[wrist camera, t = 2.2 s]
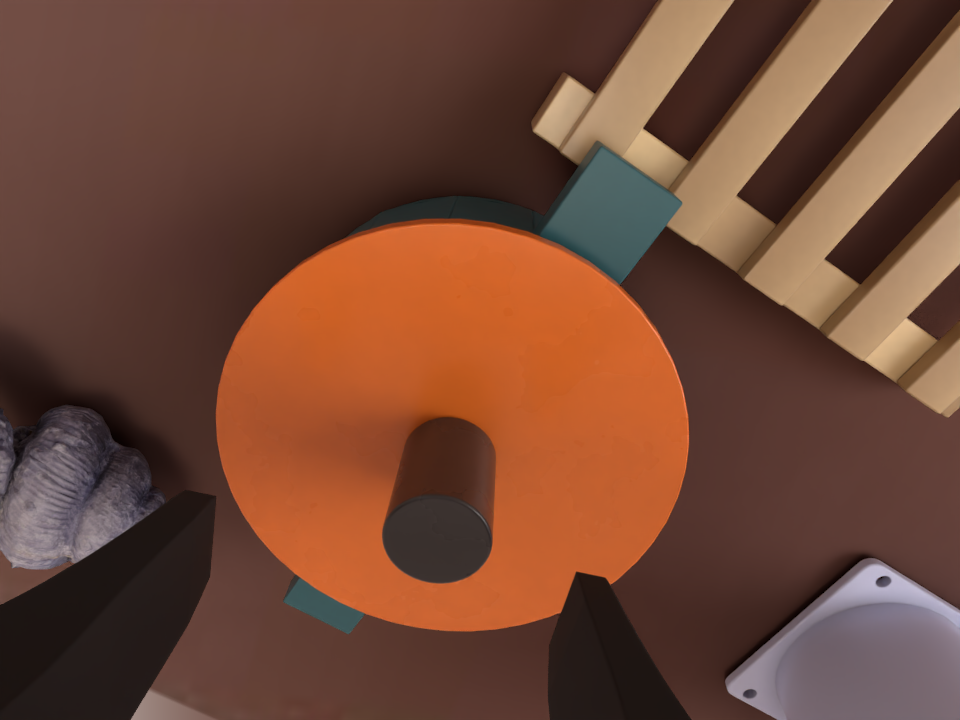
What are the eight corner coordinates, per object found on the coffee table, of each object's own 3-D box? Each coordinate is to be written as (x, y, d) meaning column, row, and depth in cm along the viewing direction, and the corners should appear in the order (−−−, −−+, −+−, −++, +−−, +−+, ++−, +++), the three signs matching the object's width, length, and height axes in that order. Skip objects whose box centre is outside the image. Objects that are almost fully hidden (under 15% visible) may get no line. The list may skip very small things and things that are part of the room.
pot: (768, 254, 21) (836, 312, 17) (471, 600, 27) (462, 710, 23) (451, 30, 19) (432, 28, 14) (207, 462, 25) (140, 553, 21)
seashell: (-46, 356, 25) (211, 486, 27) (-166, 488, 22) (128, 621, 25) (-83, 296, 21) (227, 459, 23) (-240, 454, 18) (129, 620, 20)
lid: (778, 380, 18) (856, 480, 14) (513, 661, 23) (513, 799, 19) (366, 106, 16) (314, 131, 12) (162, 482, 20) (73, 595, 16)
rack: (1307, 11, 18) (1428, 6, 15) (913, 388, 23) (959, 429, 20) (877, -415, 15) (945, -500, 13) (530, 122, 20) (532, 134, 17)
